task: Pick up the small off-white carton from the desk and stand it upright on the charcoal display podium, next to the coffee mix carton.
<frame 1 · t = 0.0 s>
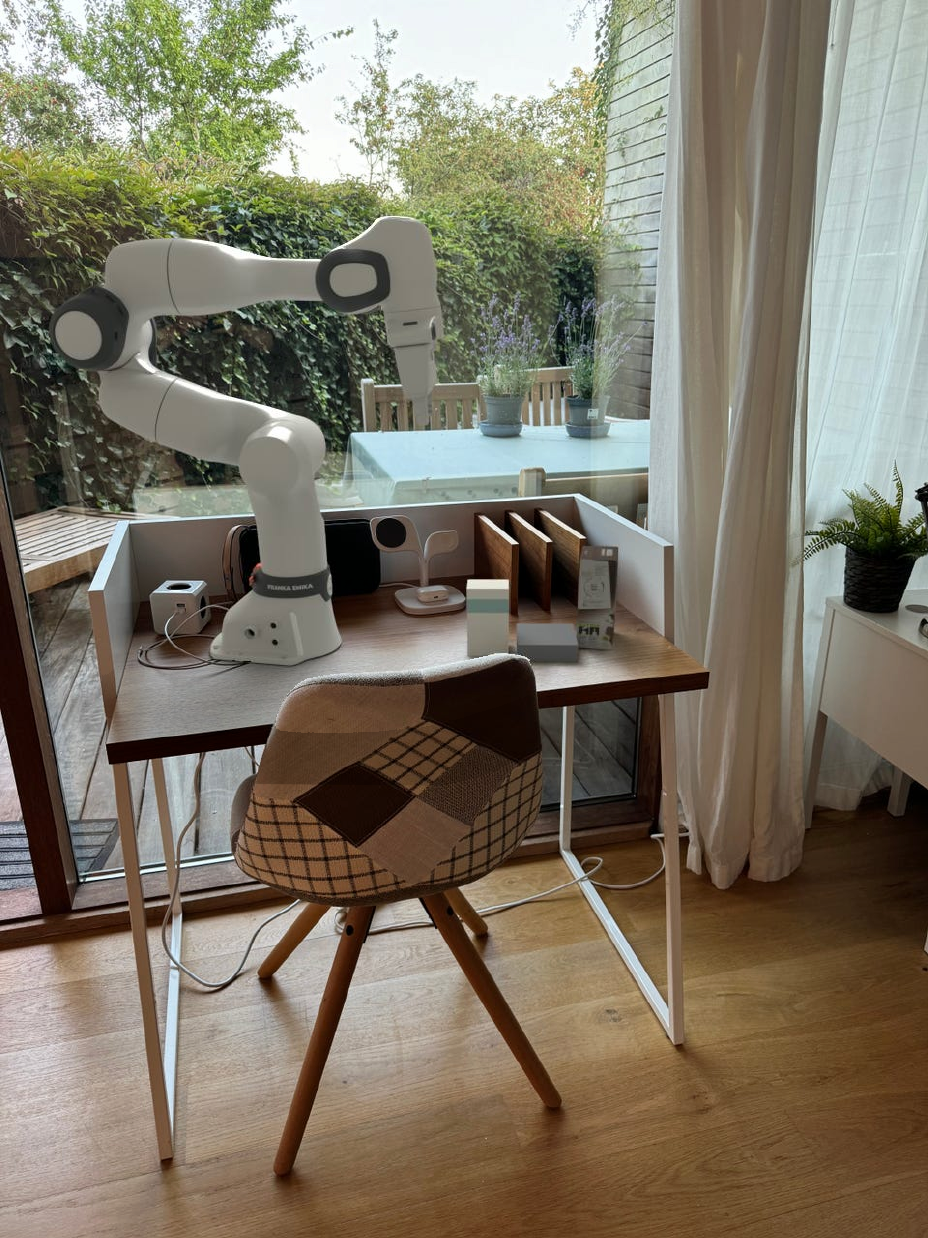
hand: (426, 420, 140), 39 cm above the table, tool pointing down, fingers open, 8 cm apart
carton: (488, 650, 152), on the table
coffee box: (595, 640, 156), on the table
podium: (546, 650, 151), on the table
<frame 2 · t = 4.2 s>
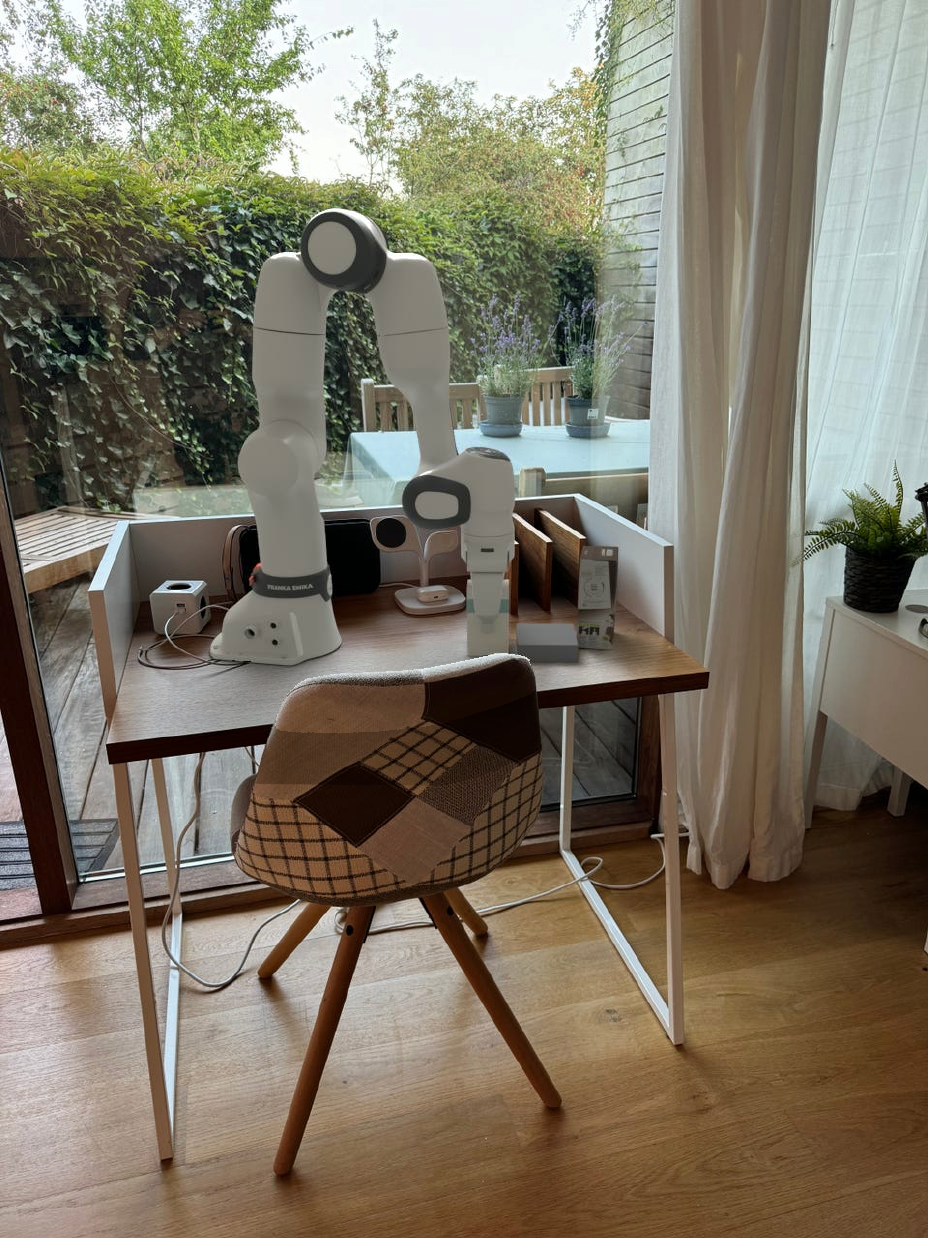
hand: (487, 625, 150), 5 cm above the table, tool pointing down, fingers closed on carton, 5 cm apart
carton: (488, 650, 152), on the table, touching gripper
everything else where it was.
when the fingers open (9 cm above the table, at t = 13.2 s): carton drops 1 cm, resting on podium.
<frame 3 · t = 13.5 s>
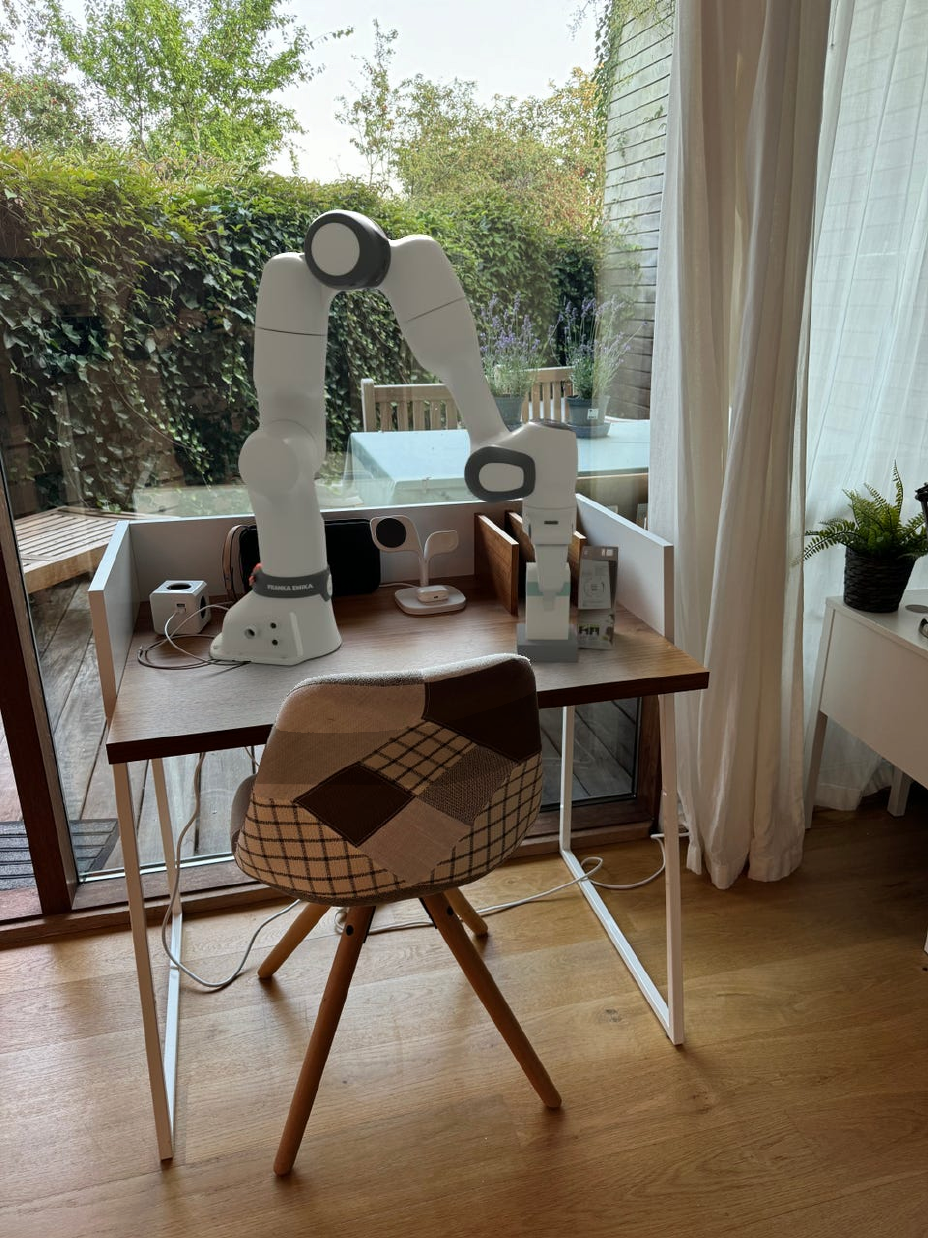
hand: (547, 600, 148), 9 cm above the table, tool pointing down, fingers open, 8 cm apart
carton: (546, 634, 150), point 3 cm above the table, touching podium
everything else where it was.
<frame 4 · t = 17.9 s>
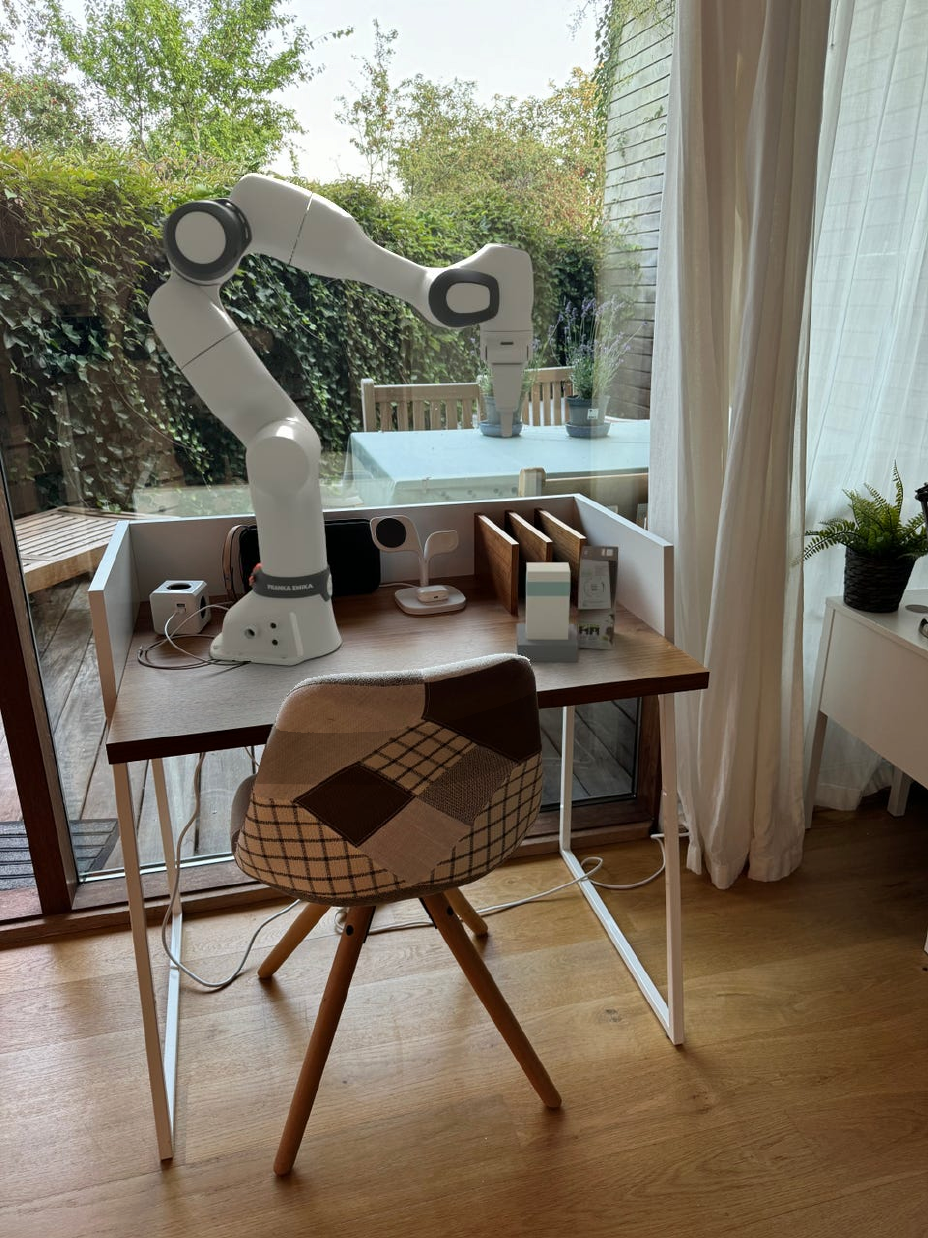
hand: (506, 431, 152), 35 cm above the table, tool pointing down, fingers open, 8 cm apart
nothing on the table moved.
at the end: carton 0.0 cm off-centre on the podium, point 3.0 cm above the podium's base; carton tilted 0°; the gripper is holding nothing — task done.
